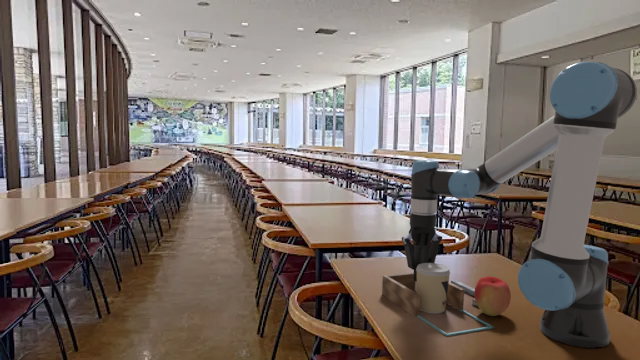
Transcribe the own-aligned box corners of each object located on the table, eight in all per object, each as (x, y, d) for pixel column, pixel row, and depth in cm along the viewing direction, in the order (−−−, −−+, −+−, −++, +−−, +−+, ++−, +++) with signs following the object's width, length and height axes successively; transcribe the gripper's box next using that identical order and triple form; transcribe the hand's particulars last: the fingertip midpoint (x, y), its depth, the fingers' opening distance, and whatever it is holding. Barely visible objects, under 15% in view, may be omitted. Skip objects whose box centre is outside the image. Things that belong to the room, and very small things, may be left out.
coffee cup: (449, 316, 121) (451, 273, 120) (414, 312, 123) (416, 270, 122) (446, 304, 130) (449, 264, 129) (414, 300, 132) (416, 261, 131)
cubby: (463, 310, 126) (464, 289, 125) (415, 317, 120) (416, 295, 119) (425, 289, 142) (426, 271, 142) (381, 294, 136) (382, 275, 136)
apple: (465, 309, 126) (467, 275, 125) (492, 306, 129) (494, 272, 128) (489, 323, 117) (492, 286, 116) (517, 319, 120) (520, 283, 119)
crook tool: (495, 304, 131) (495, 298, 131) (476, 307, 128) (477, 301, 128) (455, 285, 148) (455, 279, 147) (438, 287, 145) (438, 281, 145)
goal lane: (493, 328, 114) (493, 326, 114) (446, 336, 108) (446, 334, 108) (461, 310, 125) (461, 308, 125) (417, 316, 120) (417, 315, 120)
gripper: (434, 210, 135) (430, 285, 137) (397, 211, 130) (394, 289, 133) (449, 214, 128) (445, 293, 130) (411, 216, 124) (407, 298, 126)
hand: (419, 291), depth 132 cm, fingers closed
